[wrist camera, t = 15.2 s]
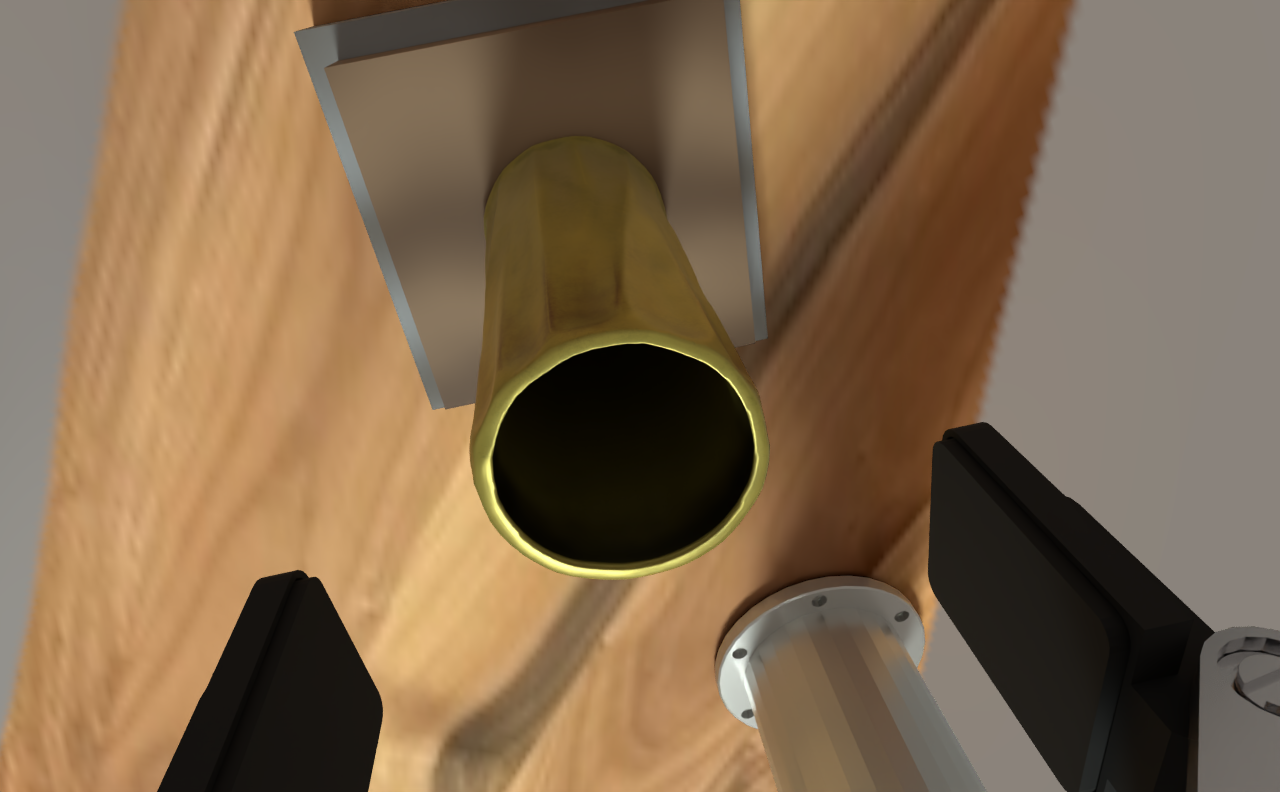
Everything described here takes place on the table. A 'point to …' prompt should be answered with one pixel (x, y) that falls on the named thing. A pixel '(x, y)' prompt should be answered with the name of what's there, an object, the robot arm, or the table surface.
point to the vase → (605, 375)
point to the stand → (534, 143)
